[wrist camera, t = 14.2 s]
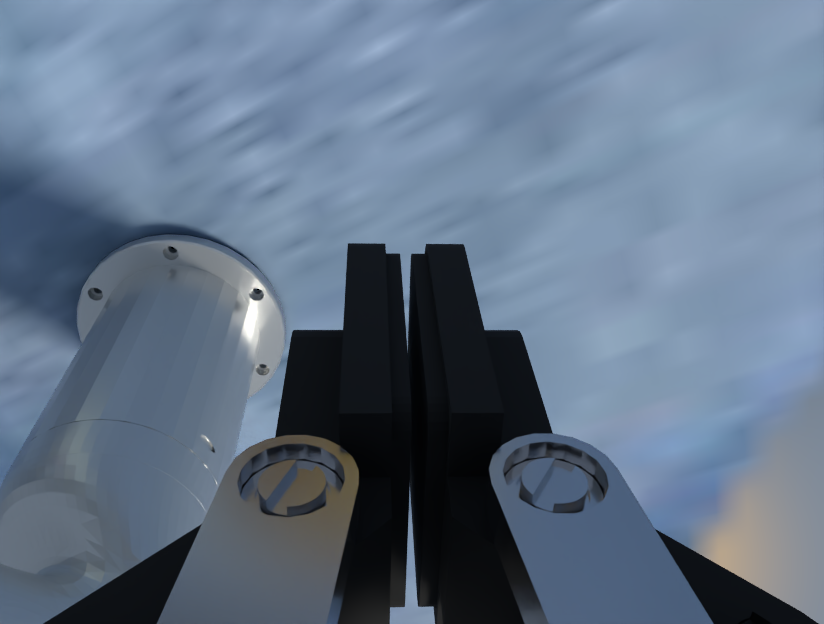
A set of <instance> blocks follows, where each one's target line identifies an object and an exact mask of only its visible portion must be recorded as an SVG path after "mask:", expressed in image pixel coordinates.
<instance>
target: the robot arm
mask: <svg viewBox="0 0 824 624" xmlns="http://www.w3.org/2000/svg"><path fill="white" fill-rule="evenodd" d="M170 246H171V247H174V248H175V249H177V250H173V249H171V248H170ZM97 288H98V289H97ZM255 288H257V289H260V291H258V290H256V289H255ZM99 289H100V290H99ZM77 327H78V332H79V336H80V341H81V343H82V345H81V346H80V348H79V350H78V352H77V353H76V355H75V357H74V358H73V360H72V362H71V364H70V365H69V367H68V369H67V370H66V372H65V374H64V376H63V377H62V379H61V381H60V382H59V384H58V386H57V388H56V389H55V391H54V393H53V394H52V396H51V398H50V400H49V401H48V403H47V405H46V407H45V408H44V410H43V412H42V413H41V415H40V417H39V419H38V420H37V422H36V424H35V425H34V427H33V429H32V431H31V432H30V434H29V436H28V437H27V439H26V441H25V443H24V444H23V446H22V448H21V450H20V452H19V454H18V455H17V457H16V458H15V460H14V462H13V464H12V465H11V467H10V469H9V471H8V472H7V474H6V476H5V478H4V480H3V482H2V484H1V486H0V624H389V622H390V607H405V590H406V564H407V538H408V512H409V486H410V492H411V507H412V523H413V539H414V554H415V570H416V586H417V600H418V606H419V607H427V606H434V615H435V624H818V623H816V622H815V621H814V620H812V619H811V618H809V617H808V616H807V615H805V614H804V613H802V612H801V611H799V610H797V609H795V608H793V607H792V606H790V605H788V604H787V603H785V602H783V601H781V600H780V599H777V598H776V597H774V596H772V595H771V594H769V593H767V592H765V591H764V590H762V589H760V588H758V587H756V586H755V585H753V584H751V583H749V582H748V581H746V580H744V579H742V578H741V577H739V576H737V575H735V574H734V573H732V572H730V571H728V570H726V569H725V568H723V567H721V566H719V565H718V564H716V563H714V562H712V561H711V560H709V559H707V558H705V557H704V556H702V555H700V554H698V553H697V552H695V551H693V550H691V549H689V548H688V547H686V546H684V545H682V544H681V543H679V542H677V541H675V540H674V539H672V538H670V537H668V536H666V535H665V534H663V533H661V532H659V531H658V530H656V529H655V528H654V527H653V525H652V523H651V522H650V520H649V519H648V517H647V515H646V514H645V512H644V511H643V509H642V507H641V506H640V504H639V502H638V501H637V499H636V498H635V496H634V494H633V493H632V491H631V490H630V488H629V486H628V485H627V483H626V481H625V480H624V478H623V477H622V475H621V473H620V472H619V470H618V469H617V467H616V466H615V465H614V464H613V463H612V462H611V460H610V459H609V458H608V457H607V456H606V455H605V454H603V453H602V452H601V451H599V450H598V449H596V448H595V447H593V446H592V445H590V444H588V443H585V442H583V441H580V440H578V439H575V438H573V437H568V436H563V435H558V434H553V433H552V430H551V426H550V423H549V420H548V417H547V414H546V410H545V407H544V404H543V401H542V398H541V394H540V391H539V388H538V385H537V382H536V378H535V375H534V372H533V369H532V366H531V363H530V359H529V356H528V353H527V350H526V347H525V343H524V340H523V337H522V335H521V333H520V331H518V330H484V326H483V322H482V318H481V314H480V310H479V305H478V301H477V297H476V293H475V289H474V284H473V280H472V276H471V272H470V268H469V264H468V259H467V255H466V251H465V247H464V244H426V247H425V254H412V255H411V271H410V301H409V331H408V353H407V340H406V326H405V313H404V300H403V287H402V274H401V260H400V254H386V250H385V244H348V252H347V271H346V289H345V308H344V326H343V330H294V331H293V332H292V336H291V342H290V349H289V355H288V361H287V368H286V374H285V380H284V386H283V393H282V399H281V405H280V412H279V418H278V424H277V430H276V437H275V438H271V439H267V440H264V441H262V442H260V443H258V444H255V445H253V446H251V447H249V448H248V449H246V450H245V451H244V452H242V453H241V454H240V455H239V456H237V457H236V458H235V459H234V457H235V452H236V448H237V443H238V439H239V434H240V430H241V425H242V421H243V416H244V412H245V407H246V403H247V399H249V398H250V397H251V396H253V395H254V394H255V393H257V392H258V391H259V390H261V389H262V388H263V387H264V386H265V384H266V383H267V382H268V381H269V380H270V379H271V378H272V376H273V374H274V373H275V371H276V369H277V367H278V365H279V364H280V360H281V357H282V353H283V350H284V344H285V337H286V327H285V316H284V313H283V309H282V306H281V302H280V300H279V298H278V296H277V294H276V292H275V290H274V289H273V287H272V285H271V284H270V283H269V281H268V280H267V279H266V278H265V276H264V275H263V274H262V273H261V271H260V270H258V269H257V268H256V267H255V266H254V265H253V264H252V263H250V262H249V261H248V260H247V259H246V258H244V257H243V256H241V255H239V254H238V253H236V252H234V251H233V250H231V249H229V248H228V247H225V246H223V245H220V244H218V243H215V242H213V241H210V240H207V239H203V238H198V237H193V236H189V235H172V234H165V235H157V236H149V237H145V238H141V239H138V240H135V241H132V242H129V243H127V244H125V245H123V246H121V247H120V248H118V249H116V250H114V251H112V252H111V253H110V254H109V255H108V256H107V257H105V258H104V259H103V260H102V261H101V262H100V263H99V264H98V265H97V267H96V268H95V269H94V271H93V272H92V273H91V275H90V276H89V278H88V279H87V281H86V283H85V285H84V286H83V288H82V290H81V294H80V298H79V302H78V305H77Z"/></svg>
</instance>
